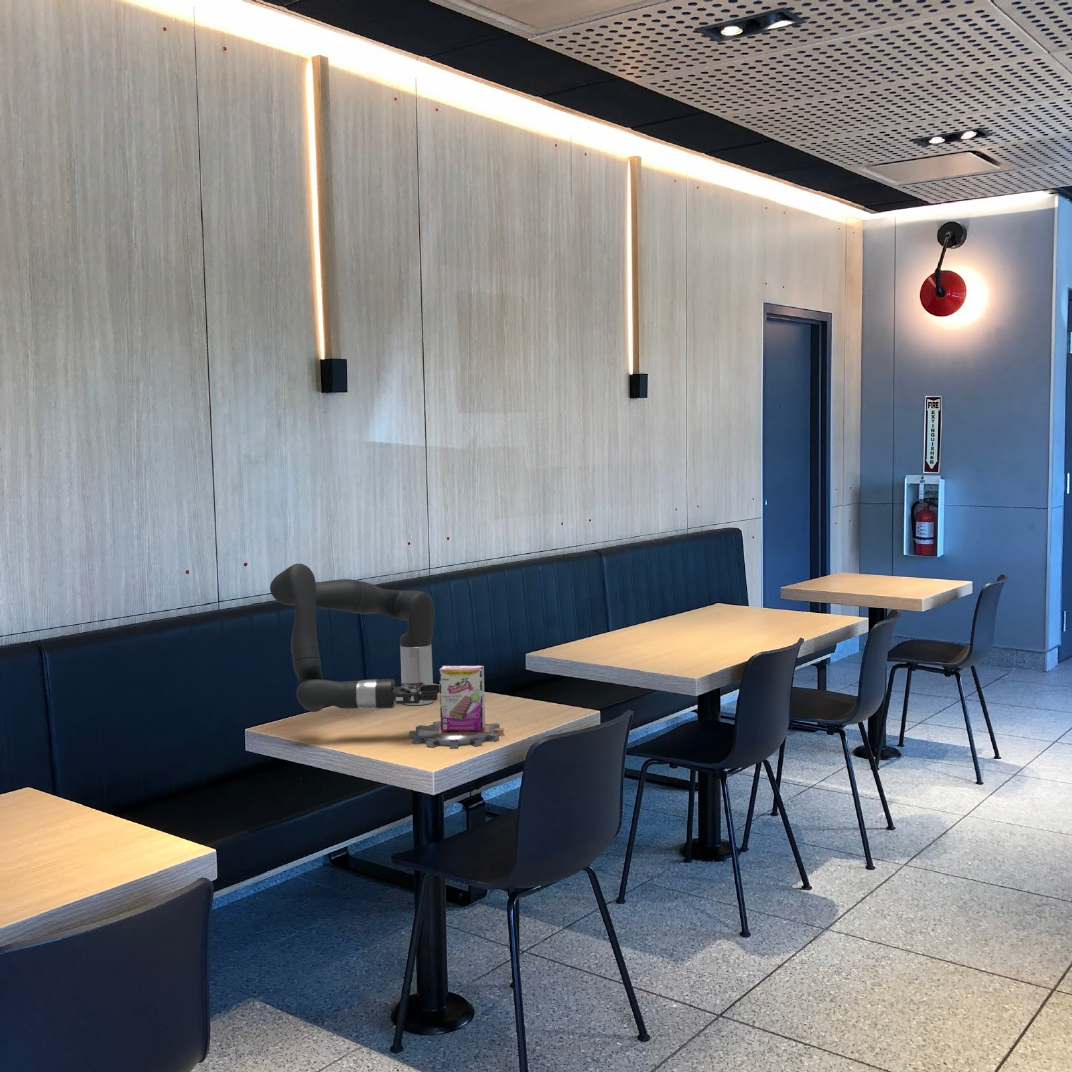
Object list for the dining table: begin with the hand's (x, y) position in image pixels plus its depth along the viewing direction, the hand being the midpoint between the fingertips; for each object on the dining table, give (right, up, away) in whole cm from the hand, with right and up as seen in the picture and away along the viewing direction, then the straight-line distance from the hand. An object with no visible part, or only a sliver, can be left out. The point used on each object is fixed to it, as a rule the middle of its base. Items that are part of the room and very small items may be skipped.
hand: (438, 692), depth 288 cm
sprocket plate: (+5, -12, +1) cm, 12 cm away
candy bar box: (+6, -10, +1) cm, 12 cm away
